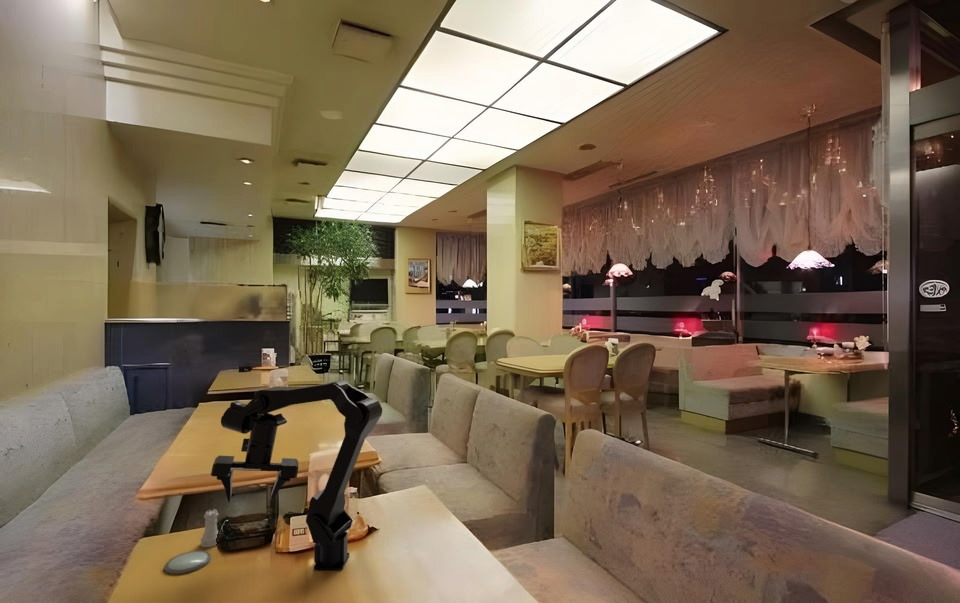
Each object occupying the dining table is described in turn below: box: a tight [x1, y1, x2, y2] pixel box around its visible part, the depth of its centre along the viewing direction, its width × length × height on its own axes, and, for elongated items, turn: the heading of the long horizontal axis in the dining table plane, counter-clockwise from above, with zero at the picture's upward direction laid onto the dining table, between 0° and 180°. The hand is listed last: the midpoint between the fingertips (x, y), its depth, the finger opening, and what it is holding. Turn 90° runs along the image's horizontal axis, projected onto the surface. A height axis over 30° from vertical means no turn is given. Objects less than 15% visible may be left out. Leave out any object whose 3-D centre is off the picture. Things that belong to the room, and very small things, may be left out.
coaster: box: [164, 550, 212, 576], centre depth 105 cm, size 9×9×1 cm
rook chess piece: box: [200, 509, 219, 549], centre depth 114 cm, size 4×4×8 cm
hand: (250, 501), depth 111 cm, fingers open, 9 cm apart
